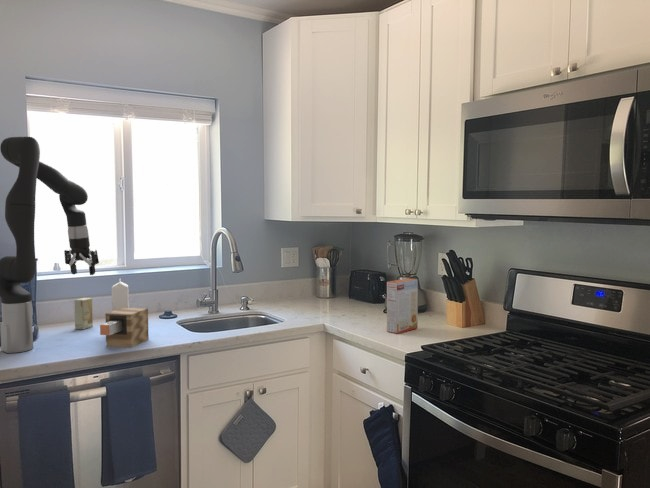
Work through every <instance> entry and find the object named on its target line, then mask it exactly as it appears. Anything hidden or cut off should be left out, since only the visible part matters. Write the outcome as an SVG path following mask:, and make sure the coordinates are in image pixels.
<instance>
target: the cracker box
mask: <svg viewBox="0 0 650 488" xmlns="http://www.w3.org/2000/svg"><path fill="white" fill-rule="evenodd" d="M418 281H419V280H418V279H417V278H411V277H408V278H407V277H406V278H401V279H395V280H390V281H386V332H387V331H388V332H387V333H391V332H392V333H391V334H396V333H397V334H398V333H399V334H402V333H405V332H408V331H412V330H416V329H418V326H419V325H418V324H419V323H418V320H419V319H418V317H419V316H418V315H419V313H418V312H419V311H418V310H419V309H418V308H419V306H418V305H419V304H418V299H419V298H418V297H419V296H418V295H419V291H418V285H419V283H418Z"/></svg>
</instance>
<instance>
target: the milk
mask: <svg viewBox="0 0 650 488" xmlns="http://www.w3.org/2000/svg"><path fill="white" fill-rule="evenodd" d="M121 280H122V279H121V277H120V278H119V282H117V283H115V284H113V285H112V286H111V312H112V311H115V310H118V309H121V308H124V307H127V308H130V297H129V295H130V291H129V284H127V283H125V282H123V281H121Z"/></svg>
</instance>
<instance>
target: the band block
mask: <svg viewBox="0 0 650 488" xmlns="http://www.w3.org/2000/svg"><path fill="white" fill-rule="evenodd" d="M115 319H123V323H124V330H122V331H119V332H117V333H114V334H112V335H105V343H106V345H105V346H106V347H115V348H117V347H118V348H134V347H135V346H138V345H139V344H142V343H145V342H146V341H149V338H150V337H149V308H146V307H143V308H142V307H129V308H127V307H124V308H121V309H118V310H115V311H112V310H111V311H109V312H106V313H105V323H106V322H109V321H112V320H115Z"/></svg>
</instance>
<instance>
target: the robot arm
mask: <svg viewBox="0 0 650 488" xmlns="http://www.w3.org/2000/svg"><path fill="white" fill-rule="evenodd" d="M0 153H1V155H2V157H3V159H5V160H6V161H7V162H9V163H10V164H12V165H14V166H16V167H18V168H19V169H18V174H17V178H16V180H15V182H14V183H13V185H12V187H11V188H10V190H9V192H8V194H7V196H6V197H5V205H4V206H5V208H4V218H5V222H6V224H7V227H8V229H9V231H10V233H11V234H12V236H13V238H14V241H15V246H16V254H15V255H8V256H3V257H1V258H0V301H1V302H0V303H1V305H0V306H1V323H0V347H1V348H0V349H1V350H0V351H2V352H4V353H6V354H11V353H13V354H15V353H23V352H27V351H30V350H33V349H34V339H33V338H34V337H33V336H34V334H33V333H34V332H33V303H32V294H31V292H30V291H28V290H26V289H25V288H23V287H22V285H21V284H27V283H30V282H31V281H32V280H33V279H34V277H35V275H36V270H37V269H36V268H37V264H36V263H37V261H36V248H35V247H36V246H35V220H36V219H35V218H36V194H37V193H36V191H37V189H36V188H37V181H40V182H42V183H43V184H44V185H46V187H48V188H49V189H50V191H52V192H54V193H55V194H57V195H58V198H59V203H60V204H61V207H62V209H63V212H64V214H65V216H66V222H67V235H68V242H69V243H68V244H69V248H68V249H65V250H64V251H63V252H64V253H63V254H64V262H65V264H66V265H69V267H70V273H71V275H77V274H78V269H77V262H78V261H81V262H83V261H84V263H86V264H87V265H88V270H89V275H90V276H93V275H94V276H95V274H96V265H99V264H100V261H99V256H98V251H97V249H93V250H91V249H90V246H91V245H90V243H91V242H90V237H89V229H88V225H87V216H86V213H85V211H83V210H80V209H78V208H77V206H83V205H85V203H87V201H88V198H89V197H88V192H87V191H86V189H85V188H84V187H82V186H80V185H79V184H77V183H75V182H74V181H71V180H69V179H68V178H67V177H66V176H65V175H63V173H62V172H60V171H59V170H57V169H56V168H54V167H52V166H50V165H48V164H46V163H44V162H41V161H40V158H41V157H40V156H41V148H40V145H39V142H38V141H37V139H36V138H35V137H32V136H11V137H7V138H4V139H3V140H2V141H1V143H0Z"/></svg>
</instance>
